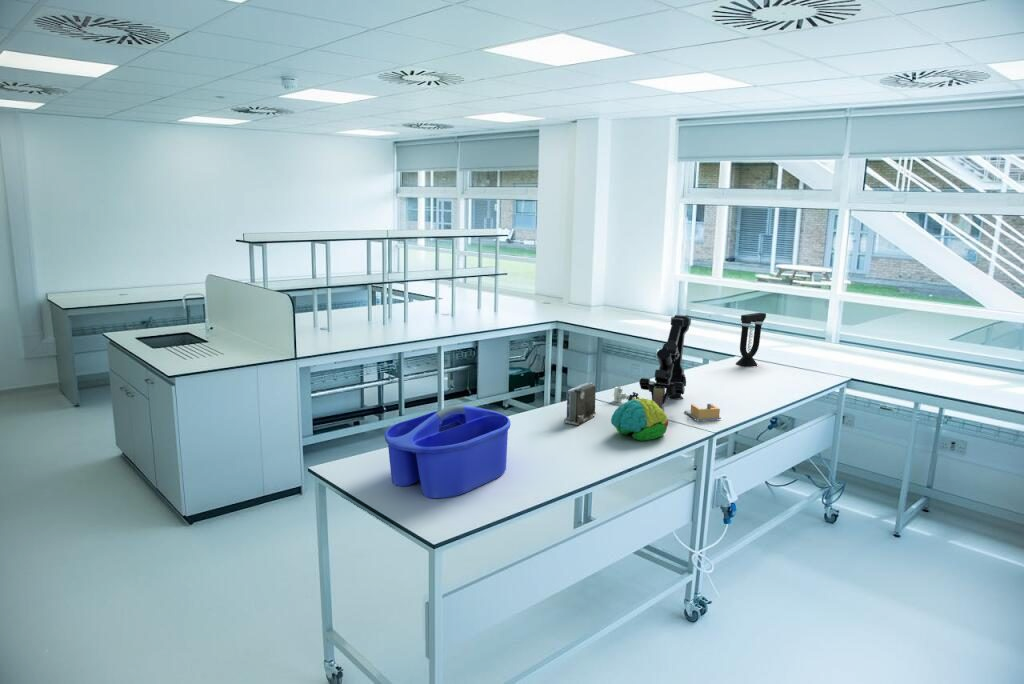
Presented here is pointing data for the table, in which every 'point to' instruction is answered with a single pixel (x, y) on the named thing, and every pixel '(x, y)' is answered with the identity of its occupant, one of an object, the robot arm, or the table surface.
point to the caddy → (449, 450)
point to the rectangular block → (659, 396)
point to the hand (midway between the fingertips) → (657, 402)
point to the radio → (580, 403)
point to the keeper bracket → (704, 412)
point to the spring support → (746, 321)
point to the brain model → (640, 419)
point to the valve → (623, 395)
